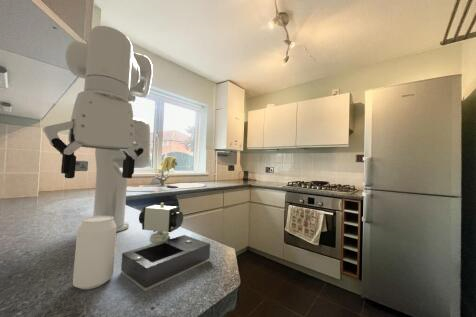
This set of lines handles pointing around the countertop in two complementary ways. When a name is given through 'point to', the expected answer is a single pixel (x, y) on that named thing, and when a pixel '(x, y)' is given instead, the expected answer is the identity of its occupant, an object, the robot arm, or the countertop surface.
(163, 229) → the pneumatic valve
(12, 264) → the countertop surface
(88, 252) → the beverage can
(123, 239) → the countertop surface
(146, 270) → the grey pocketed holder block
